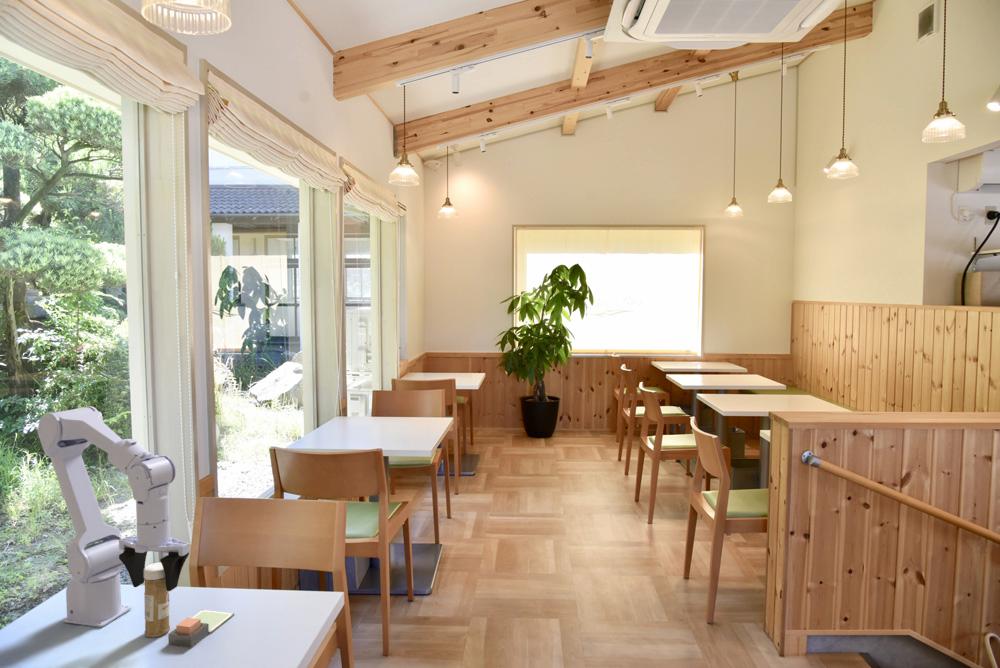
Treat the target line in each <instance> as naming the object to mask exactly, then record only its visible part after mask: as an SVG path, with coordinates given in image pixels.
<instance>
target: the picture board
mask: <svg viewBox="0 0 1000 668" xmlns="http://www.w3.org/2000/svg"><path fill="white" fill-rule="evenodd" d="M234 616H235V613H234V612H233V613H232V612H225V611H214V610H205V609H201V610H200V611H199V612H197V613H196V614H195V615H194V616H192V617H191V618H194V619H201V623H207V624H209V635H211V634H213V633H214V632H215V631H217V630H218V629H219V628H220V627H222V626H223V625H224V624H226V623H227V622H228V621H229V620H231V618H233V617H234Z"/></svg>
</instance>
